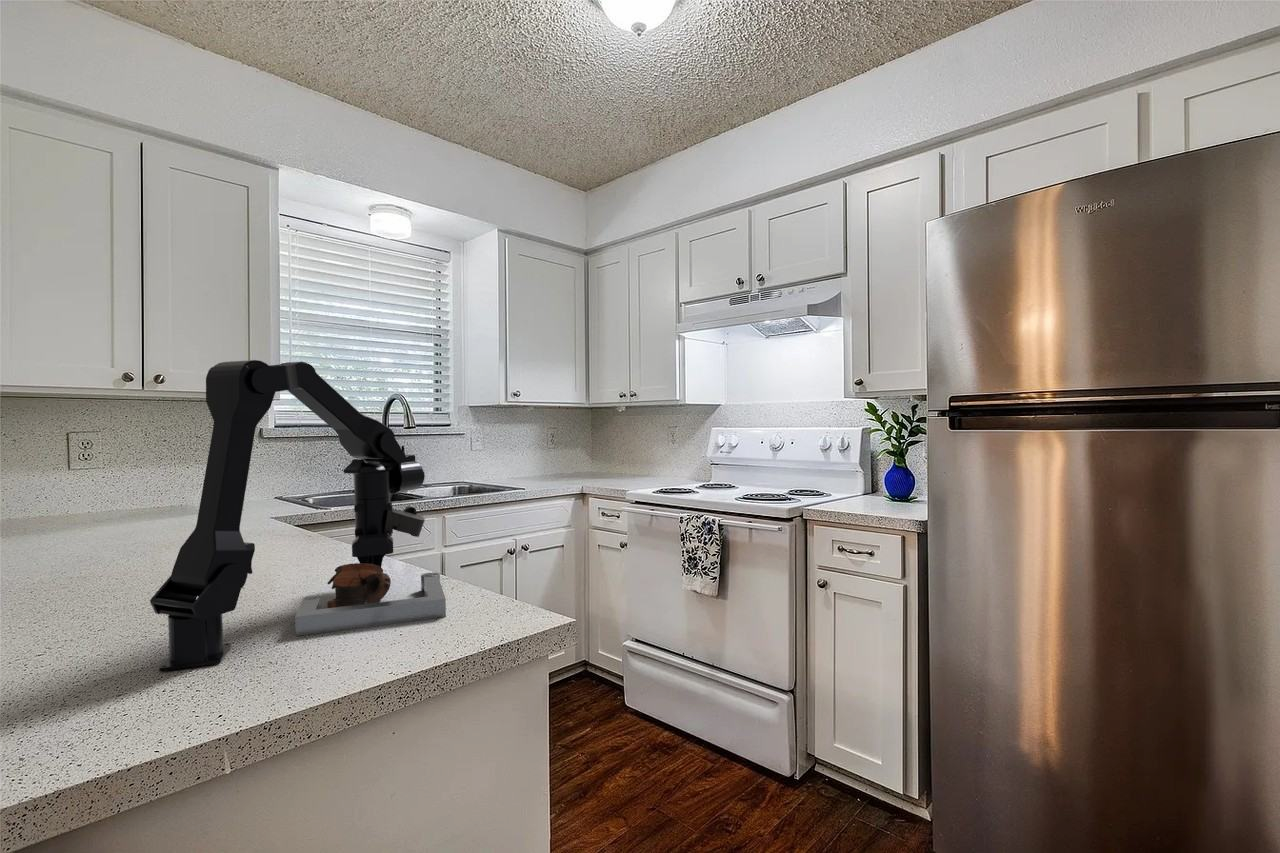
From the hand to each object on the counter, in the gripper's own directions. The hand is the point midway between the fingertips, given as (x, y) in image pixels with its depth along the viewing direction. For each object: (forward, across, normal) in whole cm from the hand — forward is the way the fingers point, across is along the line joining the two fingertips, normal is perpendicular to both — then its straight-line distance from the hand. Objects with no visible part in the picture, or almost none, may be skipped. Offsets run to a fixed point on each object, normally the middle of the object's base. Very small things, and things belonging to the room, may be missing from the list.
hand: (374, 585), depth 109 cm
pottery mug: (+2, -8, +2) cm, 8 cm away
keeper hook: (+1, -9, 0) cm, 9 cm away
